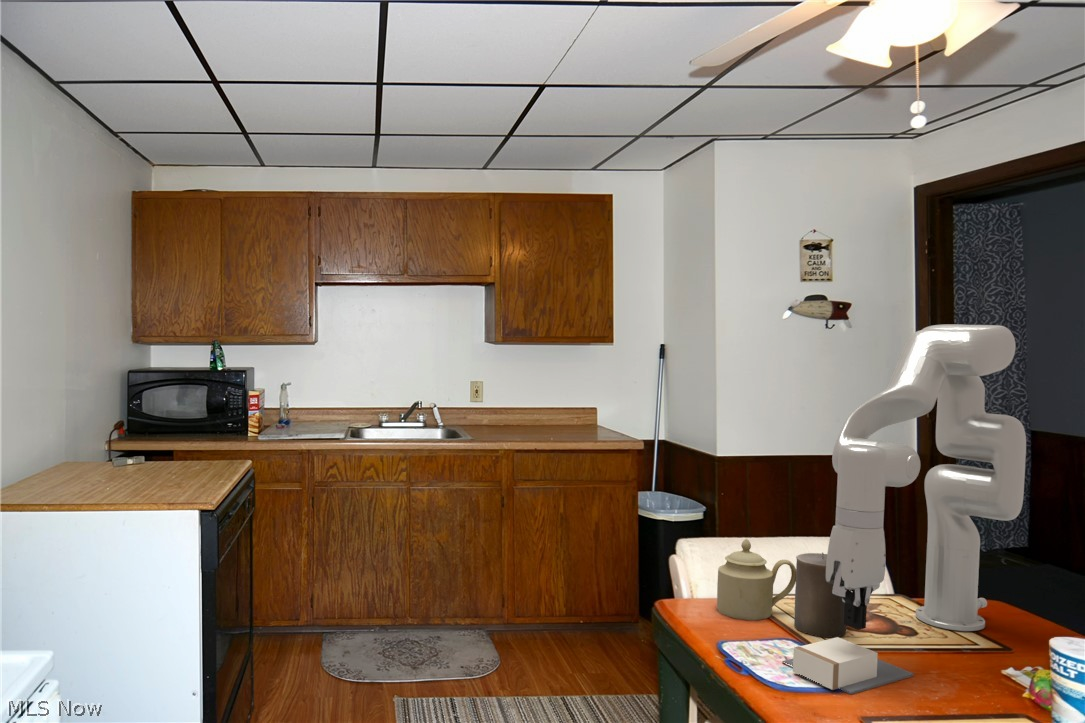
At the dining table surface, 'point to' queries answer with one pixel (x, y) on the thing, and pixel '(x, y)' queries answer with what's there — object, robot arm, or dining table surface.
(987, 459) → the robot arm
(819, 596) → the pillar candle
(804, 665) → the slab
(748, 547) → the sugar bowl
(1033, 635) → the dining table surface
